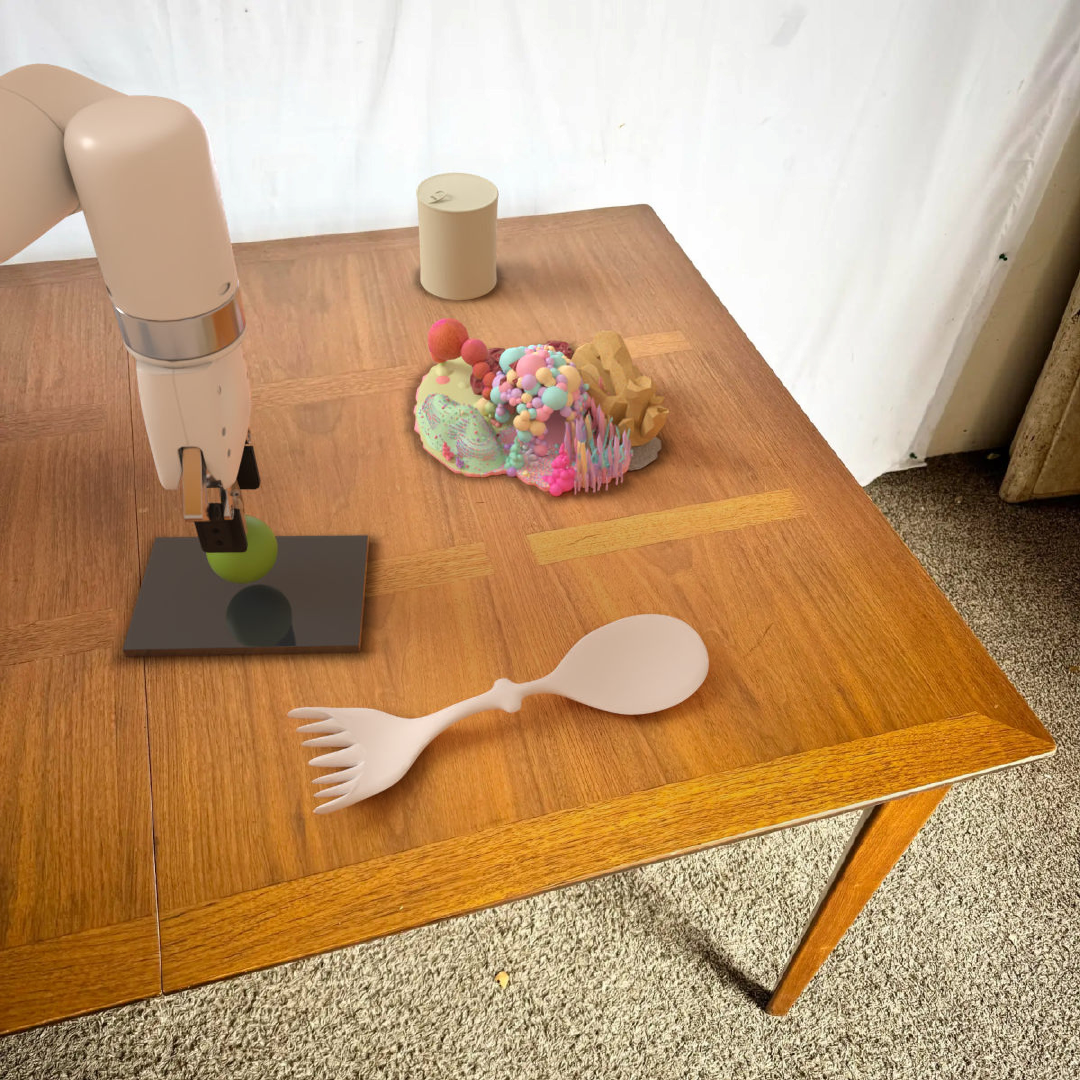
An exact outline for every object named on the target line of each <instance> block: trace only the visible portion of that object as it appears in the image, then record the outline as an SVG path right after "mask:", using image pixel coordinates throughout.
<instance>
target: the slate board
mask: <svg viewBox="0 0 1080 1080" xmlns="http://www.w3.org/2000/svg"><path fill="white" fill-rule="evenodd" d="M275 537H276V540H277V545H278V554H277V558H276V561H275V564H274V565H273V567H272V569H271V570H270V571H269V572H268V573H267V574H266V575H265V576H264V577H262V578H261V579H259V580H257V581H254V582H251V583H244V584H240V583H233V582H230V581H227V580H225V579H223V578H221V577H220V576H219V575H218V574H216V573H215V572H214V570H213V569H212V568H211V566H210V564H209V562H208V559H207V555H206V552H204V551H203V550H202V548H201V544H200V541H199V537H198V536H155V538H154V541H153V544H152V548H151V550H150V551H151V552H150V554H149V558H148V561H147V565H146V569H145V571H144V576H143V579H142V582H141V585H140V589H139V593H138V594H137V595H138V596H137V599H136V602H135V606H134V610H133V613H132V617H131V620H130V623H129V625H128V629H127V633H126V637H125V640H124V644H123V647H122V652H123V654H124V656H125V658H133V657H134V658H140V657H141V658H144V657H145V658H146V657H149V658H150V657H151V658H152V657H195V656H196V657H197V656H198V657H199V656H244V655H245V656H247V655H250V656H252V655H296V654H297V655H300V654H302V655H303V654H347V653H348V654H352V653H353V654H354V653H356V654H357V653H361V645H362V644H361V643H362V632H363V621H364V620H363V619H364V609H365V596H366V585H367V584H366V583H367V582H366V581H367V572H368V571H367V570H368V561H369V559H368V558H369V548H370V539H369V535H368V534H352V535H351V534H347V535H346V534H344V535H343V534H342V535H341V534H340V535H339V534H337V535H335V534H333V535H275Z"/></svg>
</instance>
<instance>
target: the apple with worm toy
mask: <svg viewBox="0 0 1080 1080" xmlns="http://www.w3.org/2000/svg"><path fill="white" fill-rule="evenodd" d="M231 487H232V495H233V504H234V508H236V509H240V513H241V518H242V522H243V526H244V530H245V534H246V538H247V542H248V547H247V551H246V552H242V553H206V555H207V559H208V562H209V564H210V566H211V568H212V569H213V570H214V572H215V573H216V574H218V575H219V576H220V577H221V578H223V579H225V580H227V581H230V582H233V583H240V584H244V583H251V582H254V581H257V580H259V579H261V578H262V577H264V576H265V575H266V574H267V573H268V572H269V571H270V570H271V569H272V567H273V565H274V564H275V561H276V558H277V554H278V545H277V540H276V537H275V536H276V535H275V533H274V531H273V529H272V528H271V526H269V525H268V524H267V523H266V522H265V521H263V520H261V518H257V517H255V516H253V515H247V514H246V513H245V503H244V497H243V495H242V491H241V490H240V487H239V485H238V482H237V479H236V480H235V482H234V483H233V484H232V485H231ZM217 490H218V491H217V492H218V495H219V496H218V497H219V500H220V501H221V495H220V488H217Z"/></svg>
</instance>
